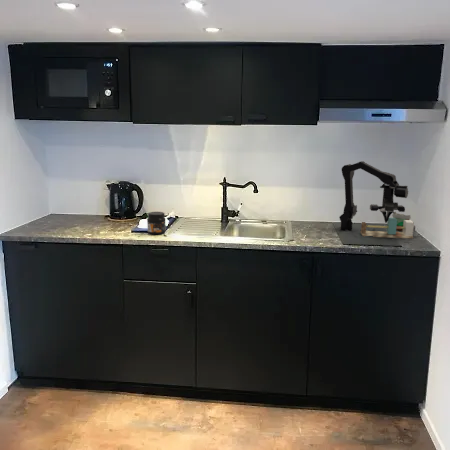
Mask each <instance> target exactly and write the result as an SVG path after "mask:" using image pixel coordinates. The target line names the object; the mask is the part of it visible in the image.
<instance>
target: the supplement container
mask: <svg viewBox="0 0 450 450" xmlns="http://www.w3.org/2000/svg"><path fill="white" fill-rule="evenodd" d="M146 221H147V224H146V225H147V233H148V234H149V235H151V236H160V235H165V233H166V218H165V212H164V211H150V212H148V213H147V218H146Z"/></svg>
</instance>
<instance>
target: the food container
mask: <svg viewBox="0 0 450 450" xmlns="http://www.w3.org/2000/svg"><path fill="white" fill-rule="evenodd" d="M391 217H392V218H395V219H396V220H397V226H401V227H403V223H404V220H411V219H412V218H411V214H409V215H408V214H407V215H406V214H402V213H397V212H396V211H394V213H392V214H391ZM396 231H397V232H399V231H400V232H403V229H396Z"/></svg>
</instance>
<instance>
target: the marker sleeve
mask: <svg viewBox="0 0 450 450" xmlns="http://www.w3.org/2000/svg"><path fill="white" fill-rule="evenodd" d="M386 226H389V227H388V228H386V232H387V233H388V234H396V232H397V230H396V226H397V220H396V219H395V218H393V217H389V219H388V221H387V223H386Z"/></svg>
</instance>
